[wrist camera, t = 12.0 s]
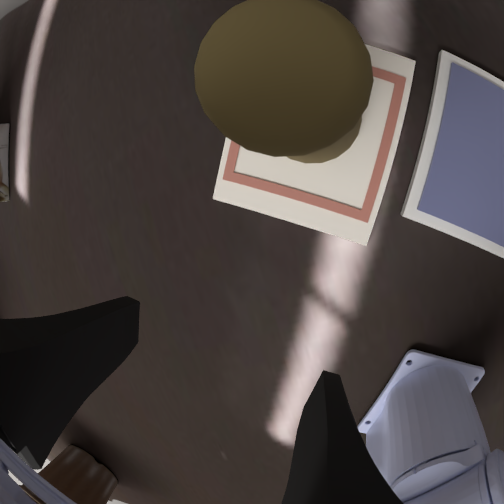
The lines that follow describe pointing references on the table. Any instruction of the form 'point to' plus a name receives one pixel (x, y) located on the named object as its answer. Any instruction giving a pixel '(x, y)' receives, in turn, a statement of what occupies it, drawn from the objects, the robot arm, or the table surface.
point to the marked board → (328, 166)
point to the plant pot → (77, 478)
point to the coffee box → (4, 162)
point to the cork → (285, 78)
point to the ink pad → (462, 157)
